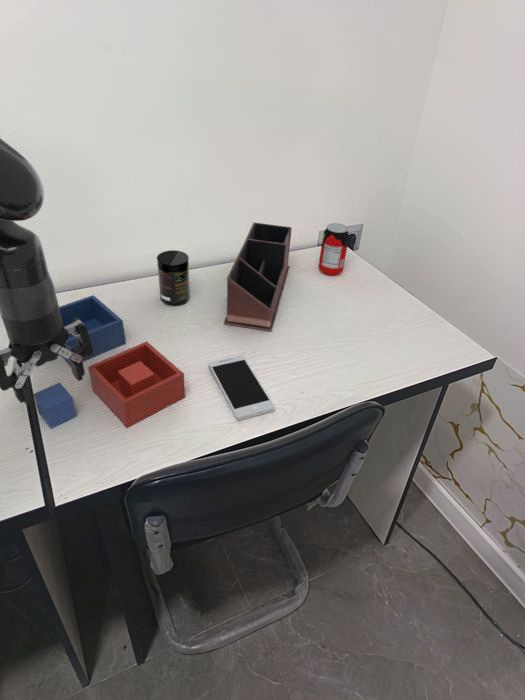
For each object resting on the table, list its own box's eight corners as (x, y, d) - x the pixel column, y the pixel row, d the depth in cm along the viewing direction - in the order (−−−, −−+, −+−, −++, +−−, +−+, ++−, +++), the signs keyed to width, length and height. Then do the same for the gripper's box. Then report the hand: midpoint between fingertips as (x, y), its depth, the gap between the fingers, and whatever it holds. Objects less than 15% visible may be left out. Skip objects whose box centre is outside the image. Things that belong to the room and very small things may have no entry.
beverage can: (347, 271, 128) (355, 227, 120) (334, 279, 124) (341, 235, 116) (326, 262, 131) (333, 219, 123) (313, 271, 127) (319, 227, 119)
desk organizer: (289, 267, 128) (293, 226, 121) (271, 332, 105) (275, 286, 98) (249, 261, 129) (251, 220, 122) (223, 324, 106) (223, 278, 99)
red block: (134, 404, 85) (131, 384, 82) (120, 390, 87) (117, 371, 84) (156, 393, 87) (154, 373, 84) (142, 379, 90) (140, 360, 87)
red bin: (127, 428, 81) (123, 403, 78) (92, 390, 87) (87, 366, 84) (185, 397, 88) (184, 373, 84) (149, 364, 94) (146, 341, 90)
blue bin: (70, 366, 92) (65, 342, 89) (43, 337, 98) (37, 314, 95) (126, 343, 99) (122, 320, 95) (97, 317, 105) (93, 294, 102)
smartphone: (237, 421, 84) (237, 417, 83) (207, 365, 95) (207, 361, 94) (275, 410, 86) (275, 407, 86) (242, 358, 97) (242, 354, 96)
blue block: (50, 429, 80) (44, 409, 77) (38, 413, 82) (32, 393, 80) (77, 416, 82) (72, 396, 80) (64, 401, 85) (59, 382, 82)
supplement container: (195, 295, 114) (194, 255, 108) (180, 309, 109) (177, 268, 103) (170, 288, 116) (168, 247, 110) (154, 301, 111) (150, 260, 105)
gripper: (-16, 335, 63) (17, 423, 73) (89, 298, 71) (105, 382, 81) (-36, 309, 67) (-2, 395, 77) (65, 277, 75) (83, 359, 85)
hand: (53, 388), depth 79 cm, fingers open, 8 cm apart
